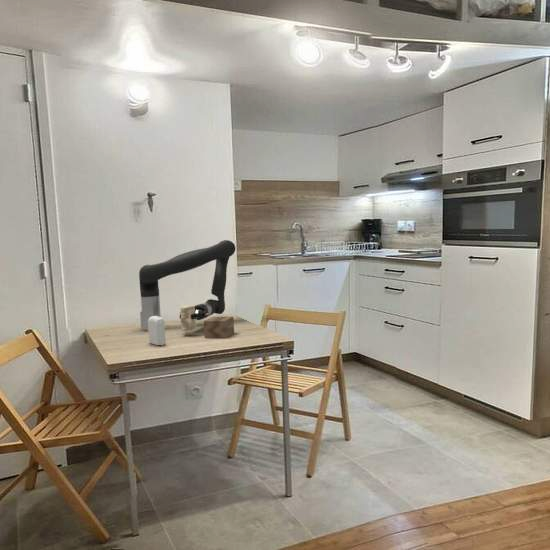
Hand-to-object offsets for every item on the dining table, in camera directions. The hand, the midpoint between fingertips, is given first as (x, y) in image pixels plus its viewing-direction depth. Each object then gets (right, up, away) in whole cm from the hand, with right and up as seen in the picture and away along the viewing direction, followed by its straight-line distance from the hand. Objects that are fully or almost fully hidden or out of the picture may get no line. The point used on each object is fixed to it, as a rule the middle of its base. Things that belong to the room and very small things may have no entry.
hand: (186, 316), depth 218 cm
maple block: (+1, -6, +3) cm, 7 cm away
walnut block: (+16, -9, -1) cm, 18 cm away
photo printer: (-10, -11, -14) cm, 20 cm away
